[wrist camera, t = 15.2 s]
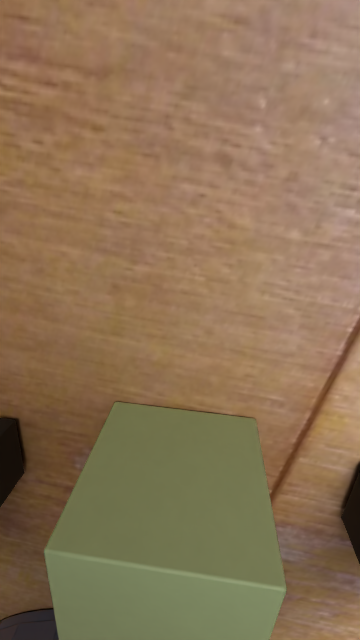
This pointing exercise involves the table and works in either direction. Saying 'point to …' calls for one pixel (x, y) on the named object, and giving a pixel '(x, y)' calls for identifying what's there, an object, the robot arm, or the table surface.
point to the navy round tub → (30, 626)
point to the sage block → (168, 533)
